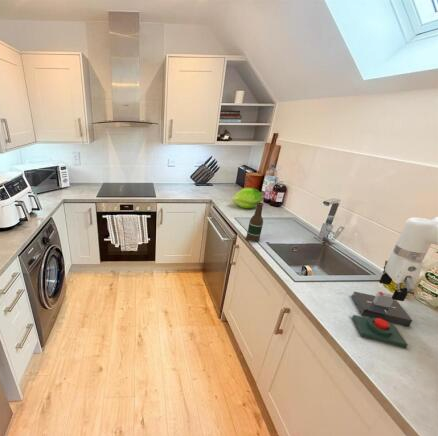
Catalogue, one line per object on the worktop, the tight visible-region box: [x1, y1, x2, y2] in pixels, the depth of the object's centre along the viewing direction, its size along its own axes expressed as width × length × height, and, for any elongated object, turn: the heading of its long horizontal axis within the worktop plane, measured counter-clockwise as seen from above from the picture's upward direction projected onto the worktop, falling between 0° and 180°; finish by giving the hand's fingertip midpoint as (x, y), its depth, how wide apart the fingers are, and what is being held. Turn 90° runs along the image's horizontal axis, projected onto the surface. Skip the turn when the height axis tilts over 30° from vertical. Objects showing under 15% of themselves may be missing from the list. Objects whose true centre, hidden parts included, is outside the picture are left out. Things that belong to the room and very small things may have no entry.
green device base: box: [351, 314, 409, 349], centre depth 83 cm, size 12×9×4 cm
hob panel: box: [351, 291, 413, 327], centre depth 93 cm, size 14×11×3 cm
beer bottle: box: [246, 202, 264, 243], centre depth 143 cm, size 8×8×24 cm
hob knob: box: [373, 291, 394, 308], centre depth 91 cm, size 5×2×5 cm, turn 68°
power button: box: [374, 318, 390, 330], centre depth 82 cm, size 4×4×2 cm
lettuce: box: [230, 187, 263, 209], centre depth 195 cm, size 19×25×17 cm
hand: (390, 291), depth 89 cm, fingers open, 9 cm apart
